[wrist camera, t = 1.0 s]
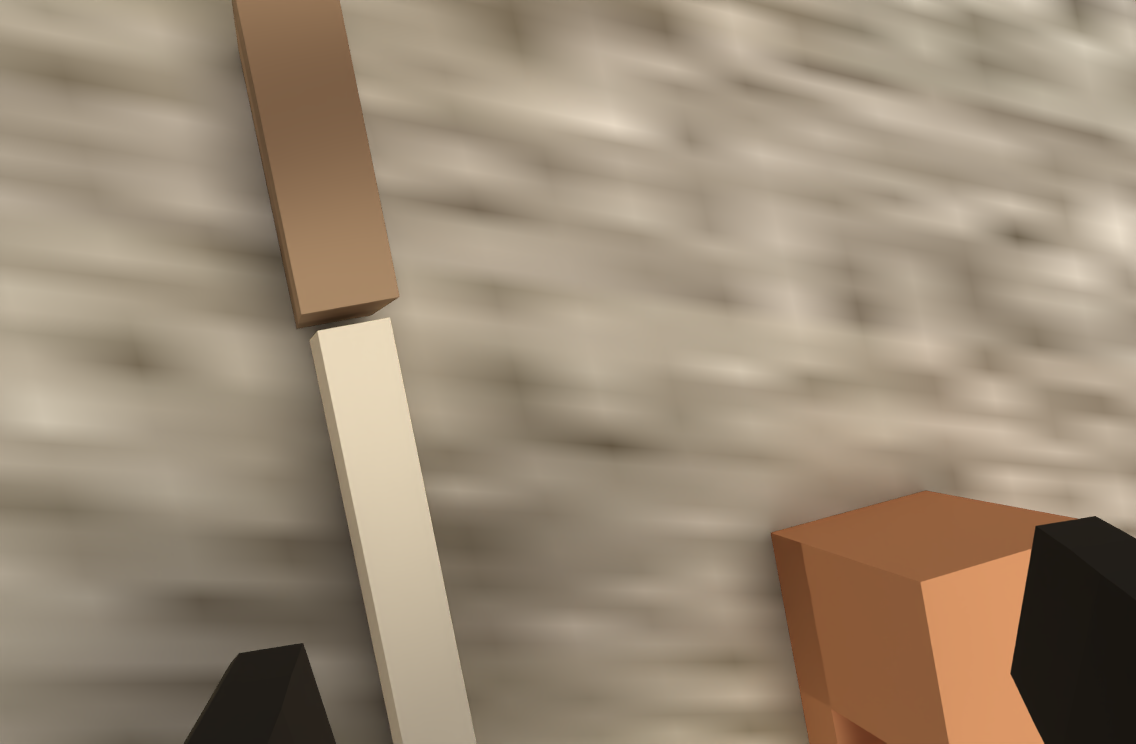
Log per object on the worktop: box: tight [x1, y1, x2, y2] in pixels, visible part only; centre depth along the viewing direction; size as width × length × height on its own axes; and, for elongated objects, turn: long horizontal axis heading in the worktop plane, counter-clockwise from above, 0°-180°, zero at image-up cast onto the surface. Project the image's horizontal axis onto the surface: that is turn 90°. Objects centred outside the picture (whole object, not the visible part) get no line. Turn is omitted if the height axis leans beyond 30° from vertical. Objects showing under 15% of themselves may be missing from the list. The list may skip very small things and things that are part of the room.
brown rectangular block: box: [232, 0, 399, 329], centre depth 19 cm, size 28×2×6 cm, turn 11°
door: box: [309, 318, 477, 744], centre depth 19 cm, size 15×1×5 cm, turn 11°
